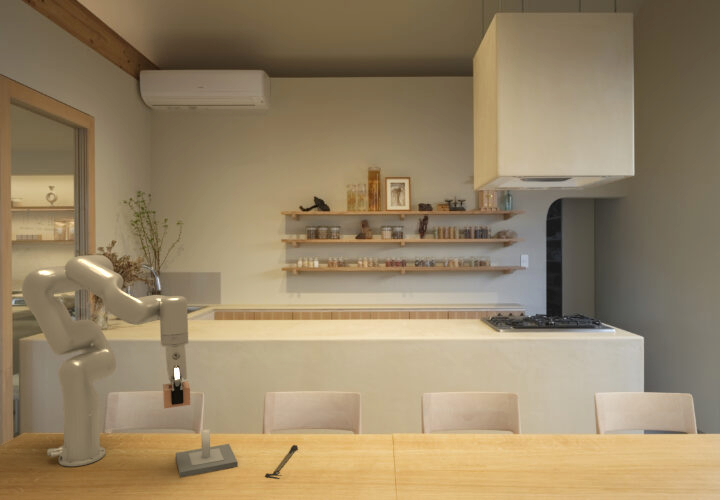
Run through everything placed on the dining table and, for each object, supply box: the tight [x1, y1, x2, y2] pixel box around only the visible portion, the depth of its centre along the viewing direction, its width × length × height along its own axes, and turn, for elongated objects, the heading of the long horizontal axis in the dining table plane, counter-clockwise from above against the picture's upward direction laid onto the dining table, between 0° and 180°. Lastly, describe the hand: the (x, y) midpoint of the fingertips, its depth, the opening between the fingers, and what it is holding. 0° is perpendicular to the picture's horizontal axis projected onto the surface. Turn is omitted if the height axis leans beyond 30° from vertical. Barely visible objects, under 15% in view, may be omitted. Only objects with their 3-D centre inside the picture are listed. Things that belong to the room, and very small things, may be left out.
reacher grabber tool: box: [264, 444, 298, 480], centre depth 153 cm, size 21×7×1 cm, turn 166°
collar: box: [162, 381, 191, 409], centre depth 148 cm, size 7×7×5 cm
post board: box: [175, 428, 239, 478], centre depth 153 cm, size 16×14×10 cm
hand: (176, 399), depth 148 cm, fingers closed on collar, 7 cm apart
